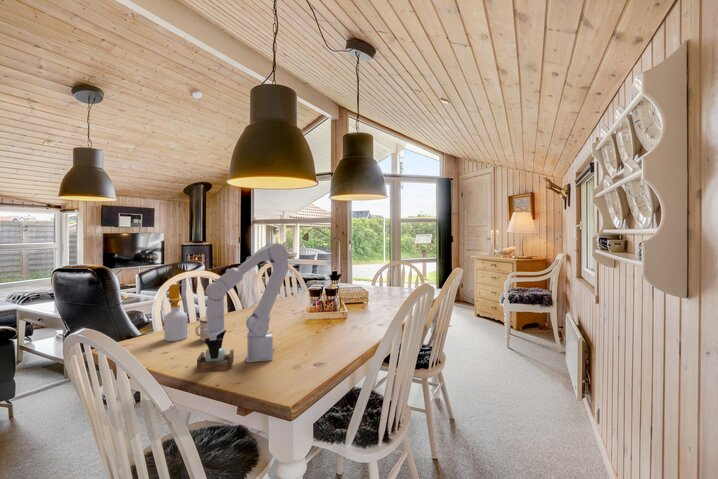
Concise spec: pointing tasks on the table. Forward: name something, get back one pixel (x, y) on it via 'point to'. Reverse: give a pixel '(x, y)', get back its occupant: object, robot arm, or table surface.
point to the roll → (220, 357)
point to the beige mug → (202, 326)
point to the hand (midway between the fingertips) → (216, 354)
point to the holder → (215, 363)
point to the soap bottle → (175, 318)
